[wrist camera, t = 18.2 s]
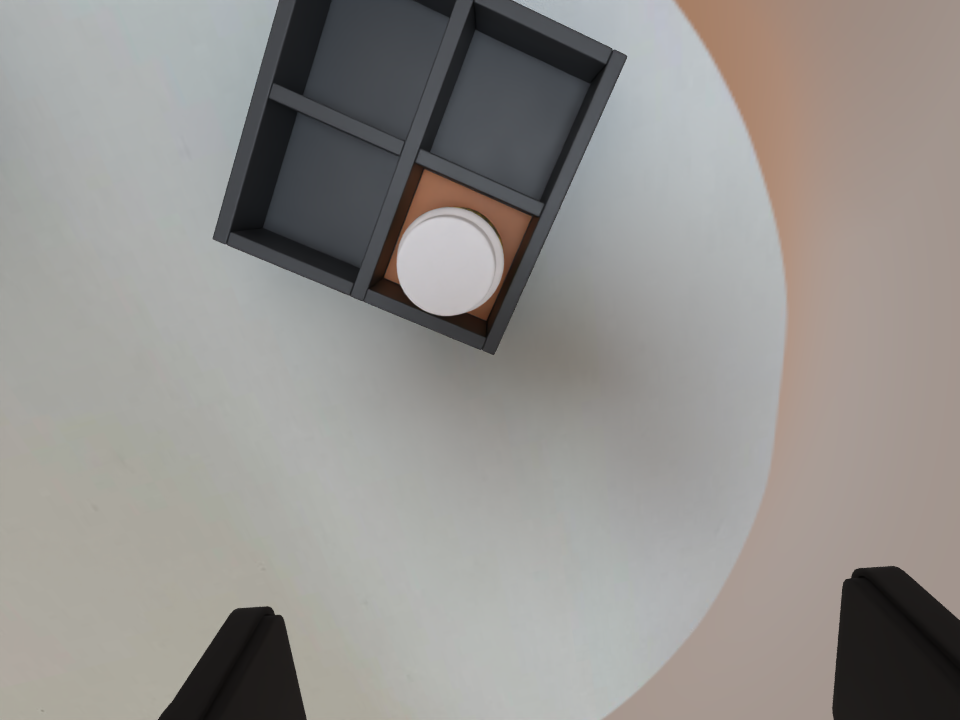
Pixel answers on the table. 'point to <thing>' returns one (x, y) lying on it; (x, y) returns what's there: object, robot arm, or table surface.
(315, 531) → the table surface
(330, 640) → the table surface
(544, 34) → the box
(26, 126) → the table surface
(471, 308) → the supplement bottle
